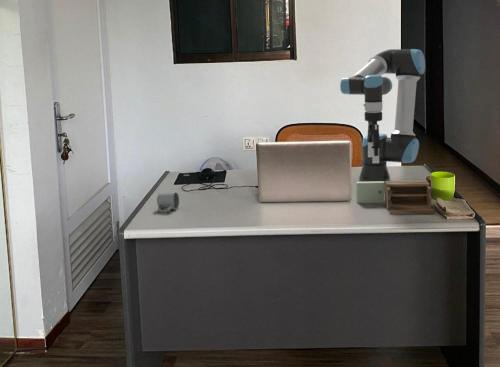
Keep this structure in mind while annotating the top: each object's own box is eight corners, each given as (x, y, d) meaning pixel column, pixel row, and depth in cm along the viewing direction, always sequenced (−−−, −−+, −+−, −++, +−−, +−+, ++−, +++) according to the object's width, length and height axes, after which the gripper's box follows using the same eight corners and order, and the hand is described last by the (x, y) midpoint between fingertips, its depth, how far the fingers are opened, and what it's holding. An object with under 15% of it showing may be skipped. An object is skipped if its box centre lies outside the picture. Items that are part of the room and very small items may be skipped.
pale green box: (356, 201, 342) (356, 181, 340) (383, 200, 341) (383, 181, 339) (356, 203, 338) (356, 183, 336) (384, 202, 337) (384, 182, 335)
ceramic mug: (162, 206, 345) (161, 189, 343) (180, 206, 343) (179, 190, 341) (154, 212, 335) (152, 195, 333) (171, 213, 333) (170, 196, 331)
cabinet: (384, 203, 337) (384, 180, 334) (426, 202, 335) (426, 180, 333) (389, 214, 319) (389, 190, 316) (433, 213, 317) (434, 189, 315)
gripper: (360, 108, 342) (360, 154, 347) (368, 115, 318) (368, 166, 323) (377, 107, 342) (377, 154, 347) (387, 115, 318) (386, 165, 323)
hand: (373, 160), depth 335 cm, fingers open, 13 cm apart
